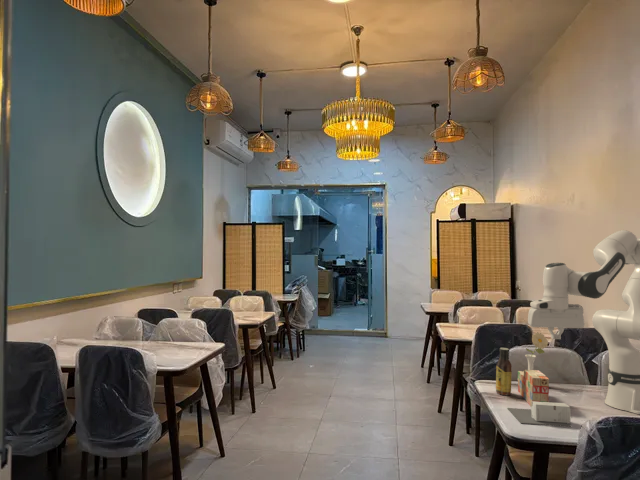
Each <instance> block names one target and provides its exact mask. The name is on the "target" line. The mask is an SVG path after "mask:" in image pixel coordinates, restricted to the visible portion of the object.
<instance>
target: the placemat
mask: <svg viewBox="0 0 640 480" xmlns="http://www.w3.org/2000/svg"><path fill="white" fill-rule="evenodd" d="M506 409H507V410H508V411H509V413H511V415H512V416H513V417H514V418H515V419H516V421H518V422H519V424H520V425H521V424H523V425H534V426H547V427H548V426H550V427H561V428H562V427H563V428H571V427H572V426H571V425H570V423H561V422H546V421H536V420H535V419H533V418H532V412H531V408H530V409H529V408H516V407H506Z"/></svg>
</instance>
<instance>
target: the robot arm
mask: <svg viewBox="0 0 640 480" xmlns="http://www.w3.org/2000/svg"><path fill="white" fill-rule="evenodd" d="M592 251H593V252H592V255H593V258H594V261H595V262H596V263H597V264H598V265H599V266H600V268H599V269H598V270H594V271H575V270H573V269H571V268H569V267H568V266H567V264H566V263H565V262H564V263H563V262H551V263H548V264H546V265H544V269H543V273H542V287H543V293H542V298H540V299H536V300H533V301H531V302H529V303H530V304H529V305H530V307H531V308H529V310H528V312H527V313H528V315H527V324H528V325H529V327H532V328H547V330H548V332H549V334H550V338H551V339H552V340H562V339H561V338H562V337H561V335H562V334H563V333H564V331H565V329H583V328H584V327H585V319H584V308H583V306H582V305H580V304H578V303H576V304H572V303H569V296H577V297H584V298H590V299H593V300H595V299H600V298H601V297H602V296H604V295H605V293H606V292H607V290H608V288H609V286H610V284H611V283H612V282H613V281H614V280H615V278H616V277H617V276H618V275H619V273H621V271H622V270H623V268H624V267H625V265H634V270H633V271H632V273H631V274H630V276H629V279H628V280H627V282H626V284H625V286H624V289H623V291H622V292H621V298H622V300H623V302H624V303H625V304H626V305H627V306H628V309H627V310H621V309H619V310H618V309H614V308H613V309H612V308H607V309H598V310H596V311H595V313H593V315H592V318H591V319H592V320H591V322H592V323H591V324H592V325H593V326H592V327H593V328H594V329H595V330H596V331H597V332H598V333H599V334H600V336H602V338H603V340H604V342H605V344H606V347H607V351H608V362H609V363H608V366H609V367H608V369H607V382H608V385H607V392H606V397H605V399H604V403H605V404H606V405H607V406H609V407H611V408H615V409H618V410H621V411H622V410H623V411H624V412H625V411H626V412H630V413H633V414H635V415H637V414H638V415H640V351H639V350H638V349H637V348H635V347H634V346H633V345H632V343H631V341H630V339H631V340H637V341H640V238H638V237H637V236H636V235H635V233H634V232H632V231H629V230H624V229H621V230H617V231H615V232H613V233H612V234H610V235H608V236H606V237H605V238H604V239H602V240H601V241H600V242H598V244H596V245H595V247H594V248H593V250H592ZM556 328H557V330H558V332H557V333H555V332H554V331H555V329H556Z"/></svg>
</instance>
